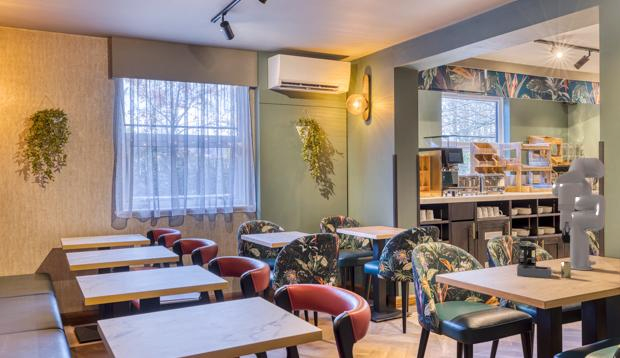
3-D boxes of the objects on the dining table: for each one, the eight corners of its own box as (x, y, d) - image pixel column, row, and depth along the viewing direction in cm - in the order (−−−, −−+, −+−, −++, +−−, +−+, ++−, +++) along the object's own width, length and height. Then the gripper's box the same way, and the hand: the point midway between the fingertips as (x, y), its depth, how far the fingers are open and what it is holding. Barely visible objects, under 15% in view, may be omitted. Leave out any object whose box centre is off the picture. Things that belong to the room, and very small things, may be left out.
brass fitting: (566, 276, 265) (566, 261, 265) (572, 278, 260) (572, 262, 260) (559, 277, 263) (559, 261, 263) (565, 279, 259) (565, 262, 259)
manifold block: (550, 274, 270) (550, 267, 270) (551, 278, 261) (551, 270, 261) (517, 272, 276) (517, 264, 276) (517, 275, 267) (517, 267, 267)
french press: (533, 271, 280) (534, 228, 280) (515, 269, 286) (516, 227, 285) (539, 267, 289) (539, 226, 289) (521, 266, 295) (521, 225, 295)
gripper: (557, 206, 271) (557, 239, 271) (559, 208, 255) (558, 243, 255) (573, 207, 268) (573, 240, 268) (576, 209, 252) (575, 244, 252)
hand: (566, 241), depth 262 cm, fingers open, 9 cm apart
